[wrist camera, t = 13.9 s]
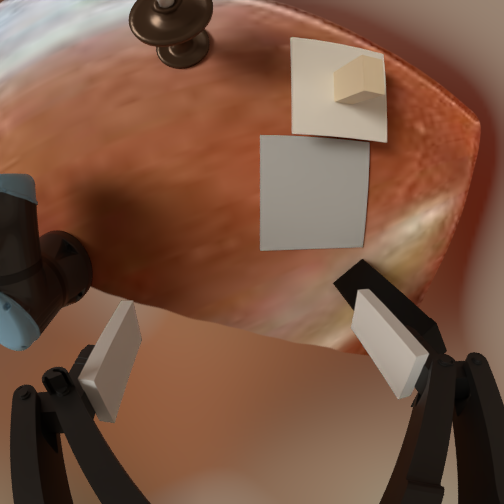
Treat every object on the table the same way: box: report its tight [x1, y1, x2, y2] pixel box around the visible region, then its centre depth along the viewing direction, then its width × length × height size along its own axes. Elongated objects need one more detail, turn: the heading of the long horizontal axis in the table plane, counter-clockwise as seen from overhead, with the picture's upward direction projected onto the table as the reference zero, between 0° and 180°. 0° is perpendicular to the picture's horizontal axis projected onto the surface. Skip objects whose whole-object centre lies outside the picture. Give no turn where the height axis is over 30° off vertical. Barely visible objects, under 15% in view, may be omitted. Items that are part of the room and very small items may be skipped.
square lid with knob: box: [290, 37, 387, 143], centre depth 33 cm, size 16×16×11 cm
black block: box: [333, 259, 447, 354], centre depth 43 cm, size 8×8×28 cm
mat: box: [260, 135, 370, 251], centre depth 49 cm, size 20×20×1 cm
